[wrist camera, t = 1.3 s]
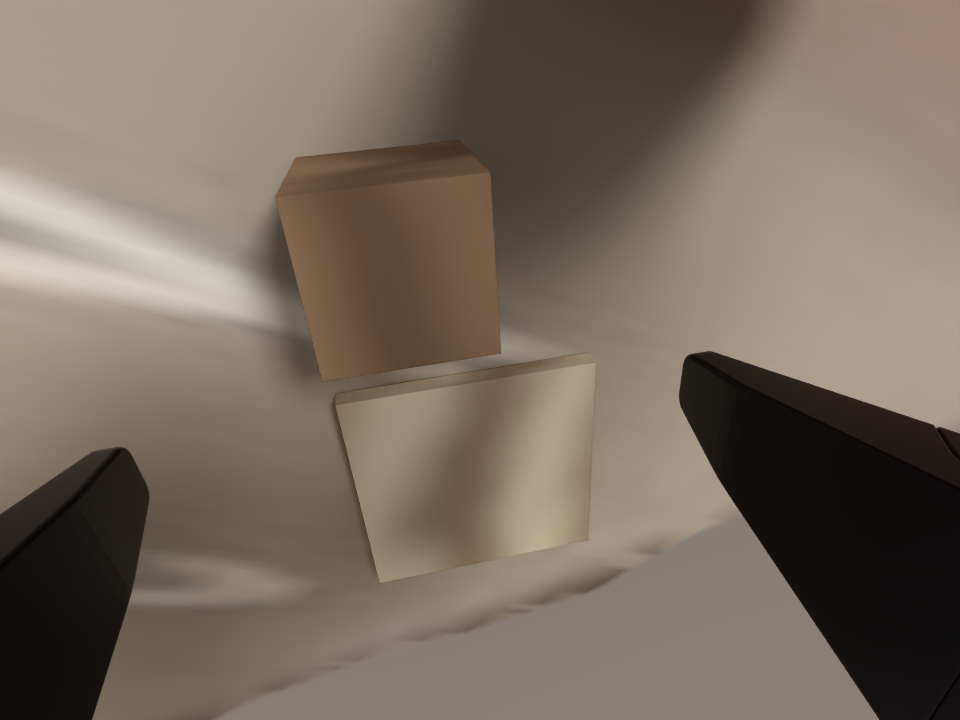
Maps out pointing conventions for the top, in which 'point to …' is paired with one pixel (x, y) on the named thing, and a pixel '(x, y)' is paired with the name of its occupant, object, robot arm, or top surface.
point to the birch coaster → (472, 463)
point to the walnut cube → (393, 256)
